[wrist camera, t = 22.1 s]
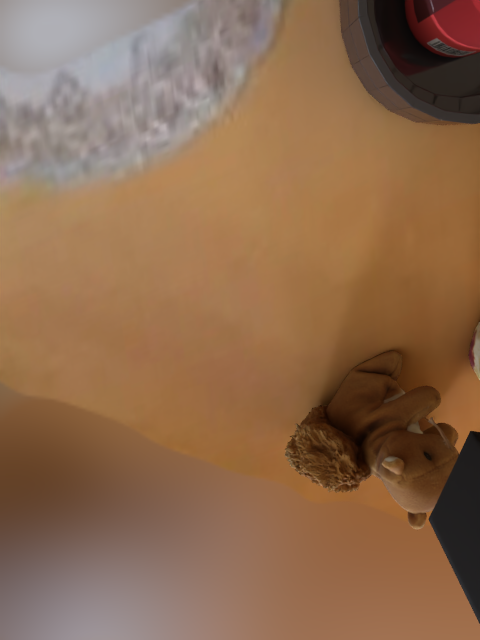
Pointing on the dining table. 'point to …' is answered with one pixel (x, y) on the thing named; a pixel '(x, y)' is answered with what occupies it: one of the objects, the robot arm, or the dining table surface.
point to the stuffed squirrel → (378, 439)
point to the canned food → (445, 25)
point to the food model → (475, 351)
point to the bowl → (408, 66)
